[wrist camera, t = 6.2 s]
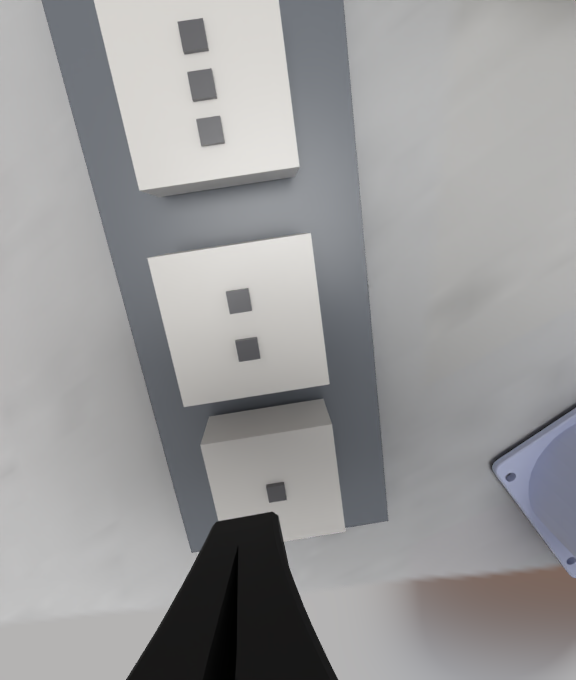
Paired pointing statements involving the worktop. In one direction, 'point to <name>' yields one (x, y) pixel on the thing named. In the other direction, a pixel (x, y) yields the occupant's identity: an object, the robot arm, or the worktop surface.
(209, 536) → the robot arm
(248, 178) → the key three
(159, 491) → the worktop surface
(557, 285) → the worktop surface
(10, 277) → the worktop surface
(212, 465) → the key one
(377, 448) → the keypad base
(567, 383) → the worktop surface
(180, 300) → the key two
